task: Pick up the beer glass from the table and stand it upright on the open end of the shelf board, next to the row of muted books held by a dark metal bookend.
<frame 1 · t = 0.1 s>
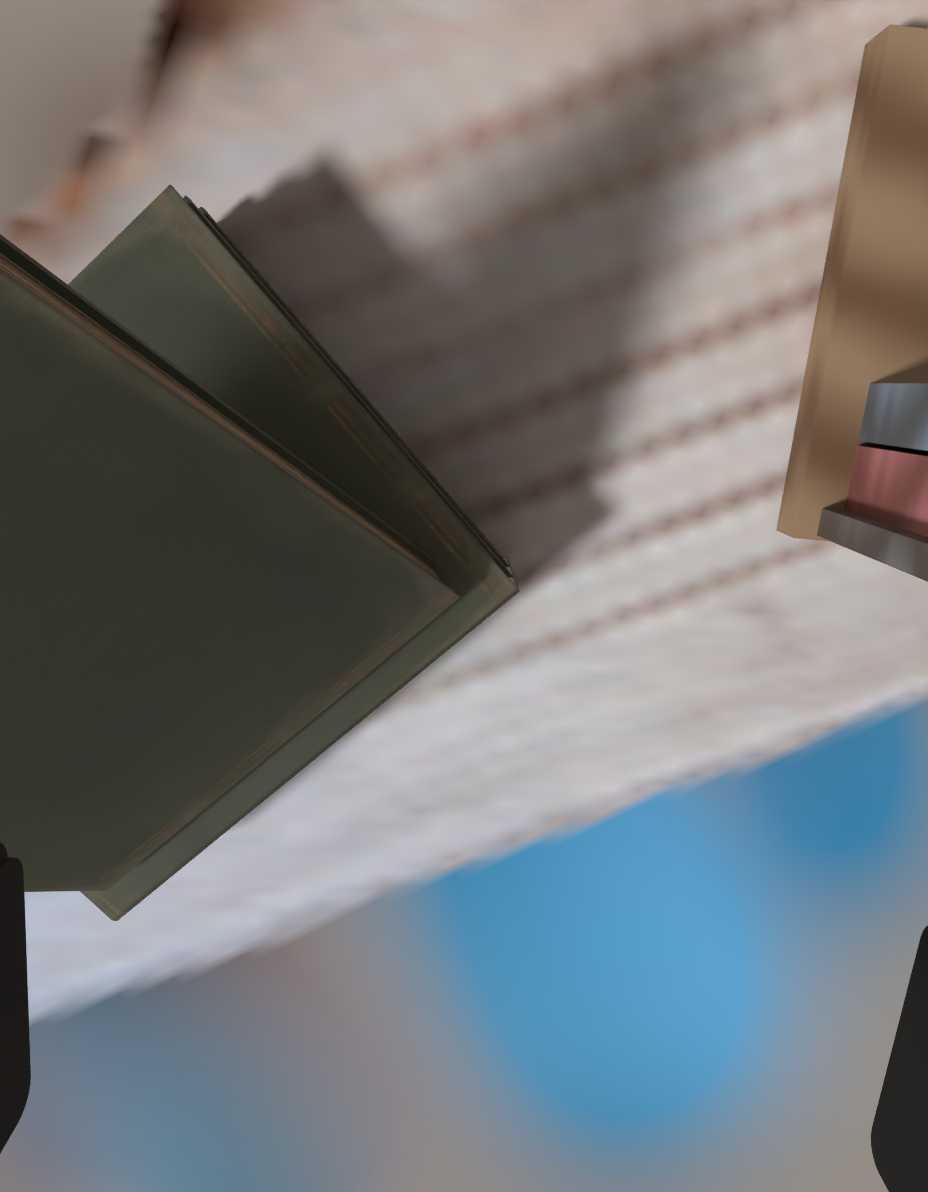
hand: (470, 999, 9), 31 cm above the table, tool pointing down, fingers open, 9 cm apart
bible: (188, 560, 40), on the table
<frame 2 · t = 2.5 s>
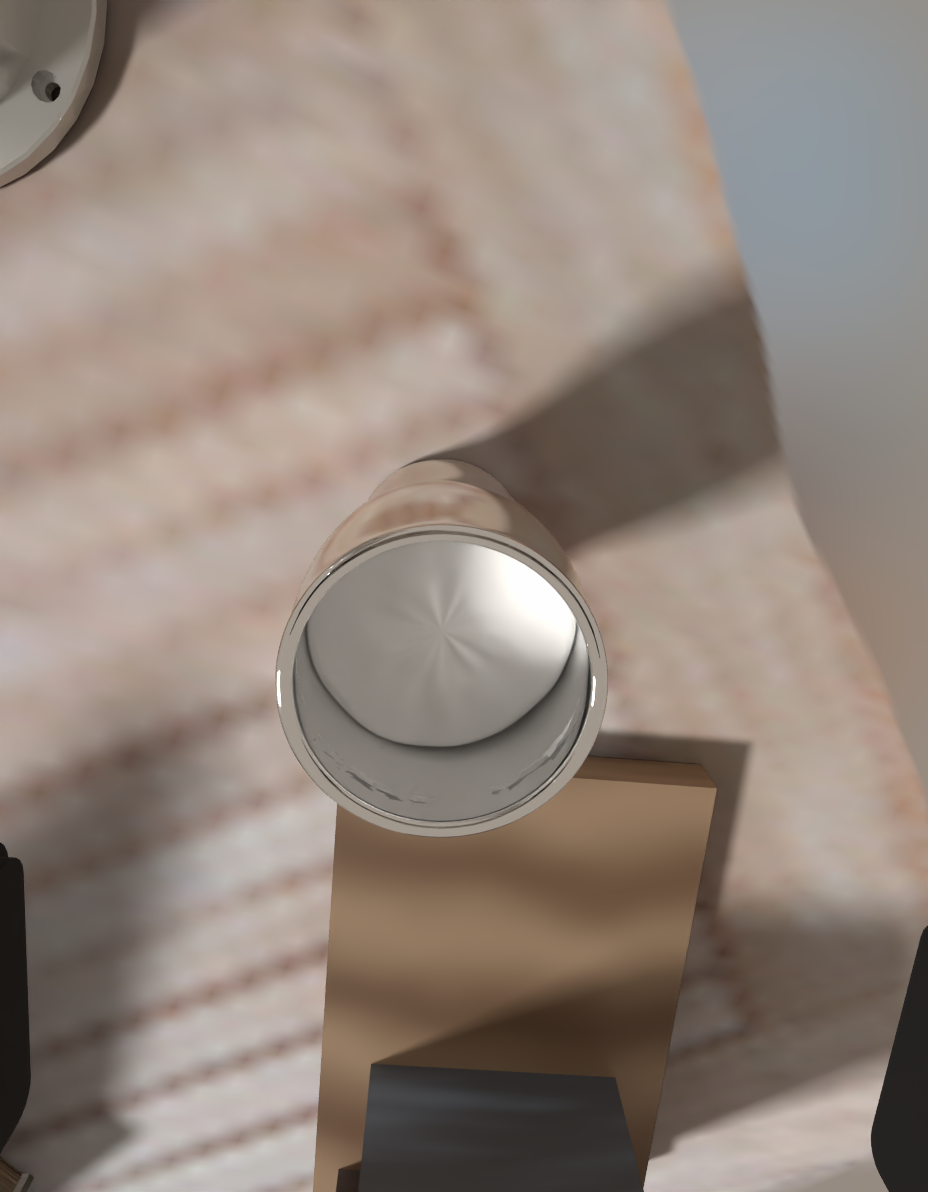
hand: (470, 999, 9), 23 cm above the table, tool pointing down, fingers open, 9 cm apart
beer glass: (440, 540, 31), on the table
shelf board: (498, 970, 36), on the table
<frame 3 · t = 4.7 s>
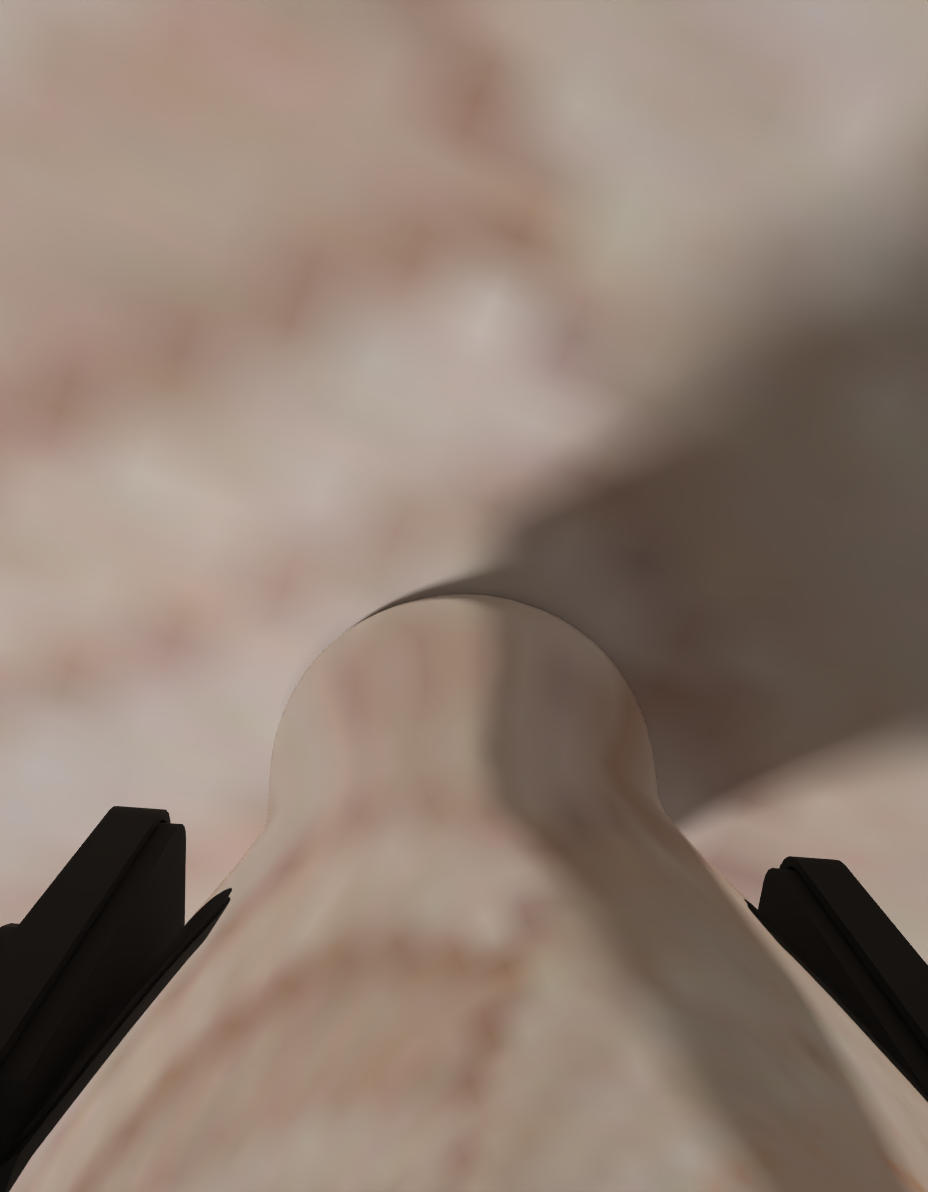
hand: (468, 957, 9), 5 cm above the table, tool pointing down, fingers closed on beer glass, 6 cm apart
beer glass: (461, 766, 14), on the table, touching gripper
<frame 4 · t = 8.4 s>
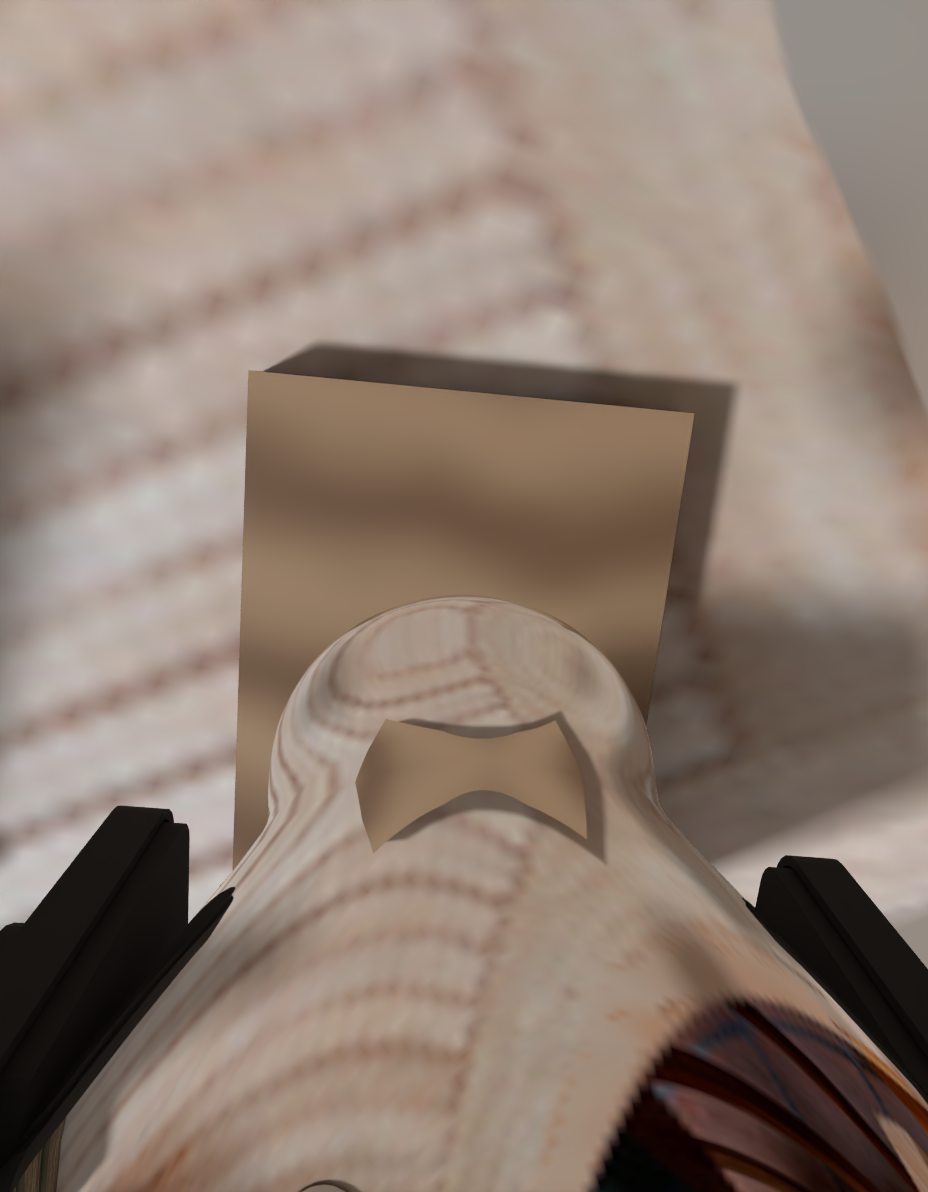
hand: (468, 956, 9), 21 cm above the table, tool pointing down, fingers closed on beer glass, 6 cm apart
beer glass: (461, 767, 14), point 16 cm above the table, touching gripper
shelf board: (445, 673, 31), on the table
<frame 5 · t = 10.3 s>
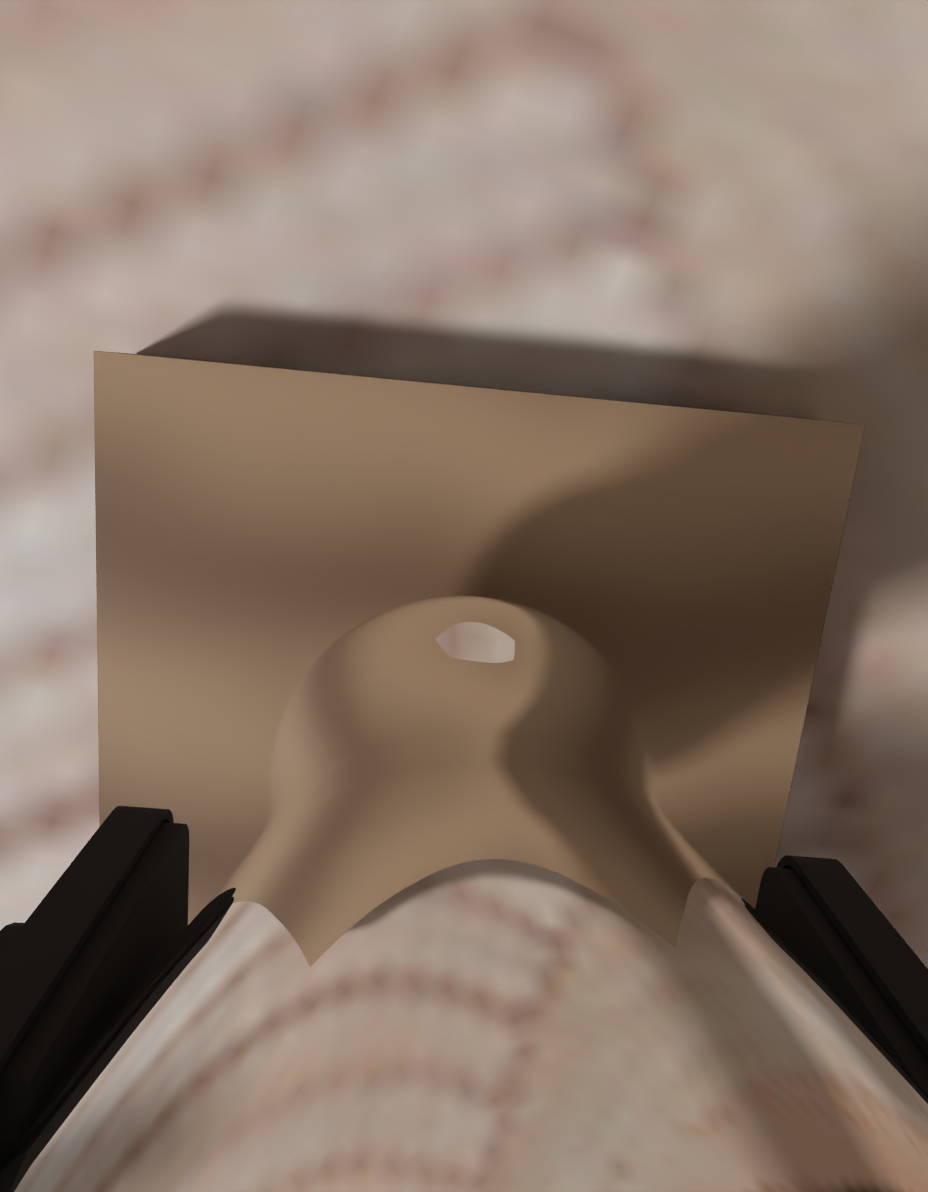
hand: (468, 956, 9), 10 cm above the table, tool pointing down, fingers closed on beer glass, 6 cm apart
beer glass: (461, 767, 14), point 5 cm above the table, touching gripper
shelf board: (439, 829, 20), on the table
when the fingers open (7 cm above the table, at t = 11.8 s): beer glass stays where it is, resting on shelf board.
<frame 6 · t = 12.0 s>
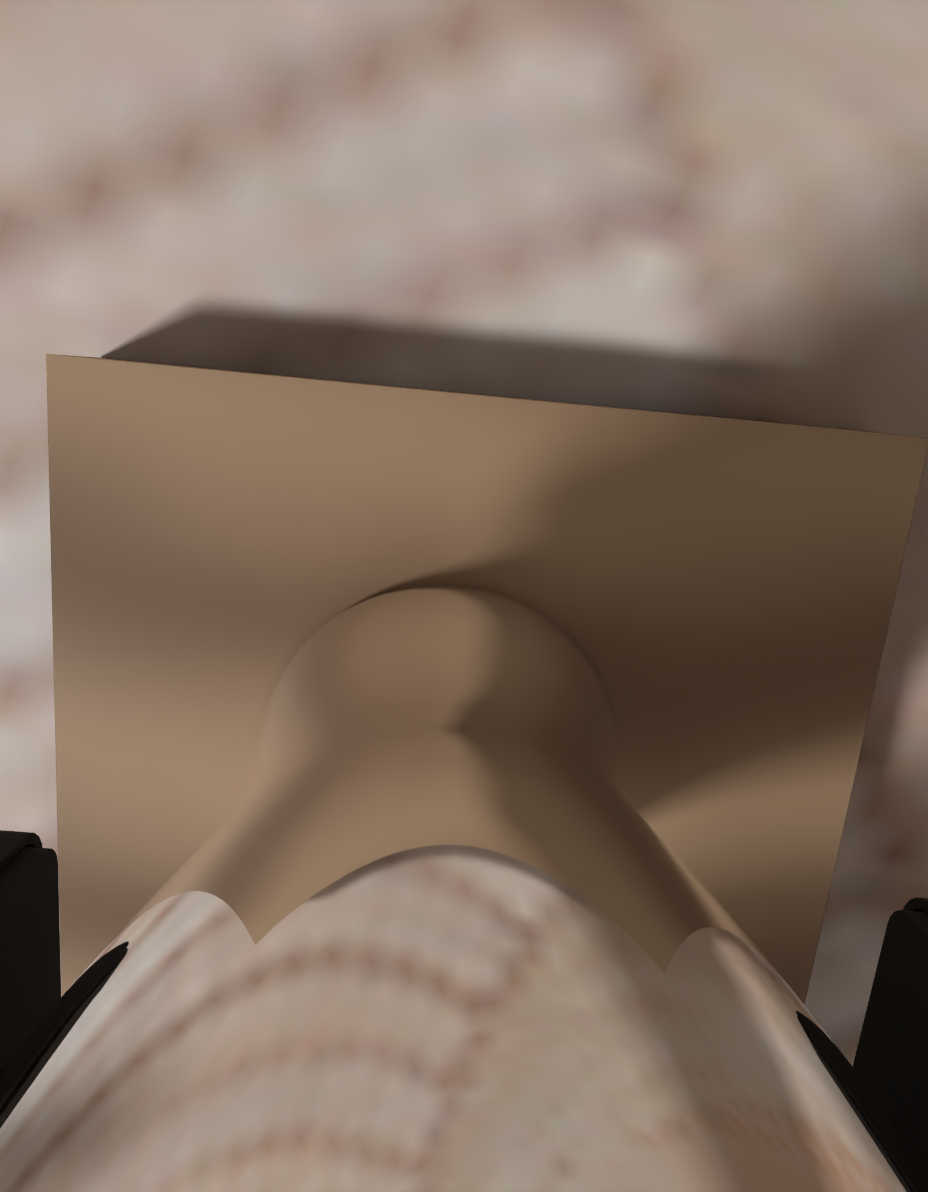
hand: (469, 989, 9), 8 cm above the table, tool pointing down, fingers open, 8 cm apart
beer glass: (440, 747, 15), point 2 cm above the table, touching shelf board
shelf board: (442, 886, 18), on the table
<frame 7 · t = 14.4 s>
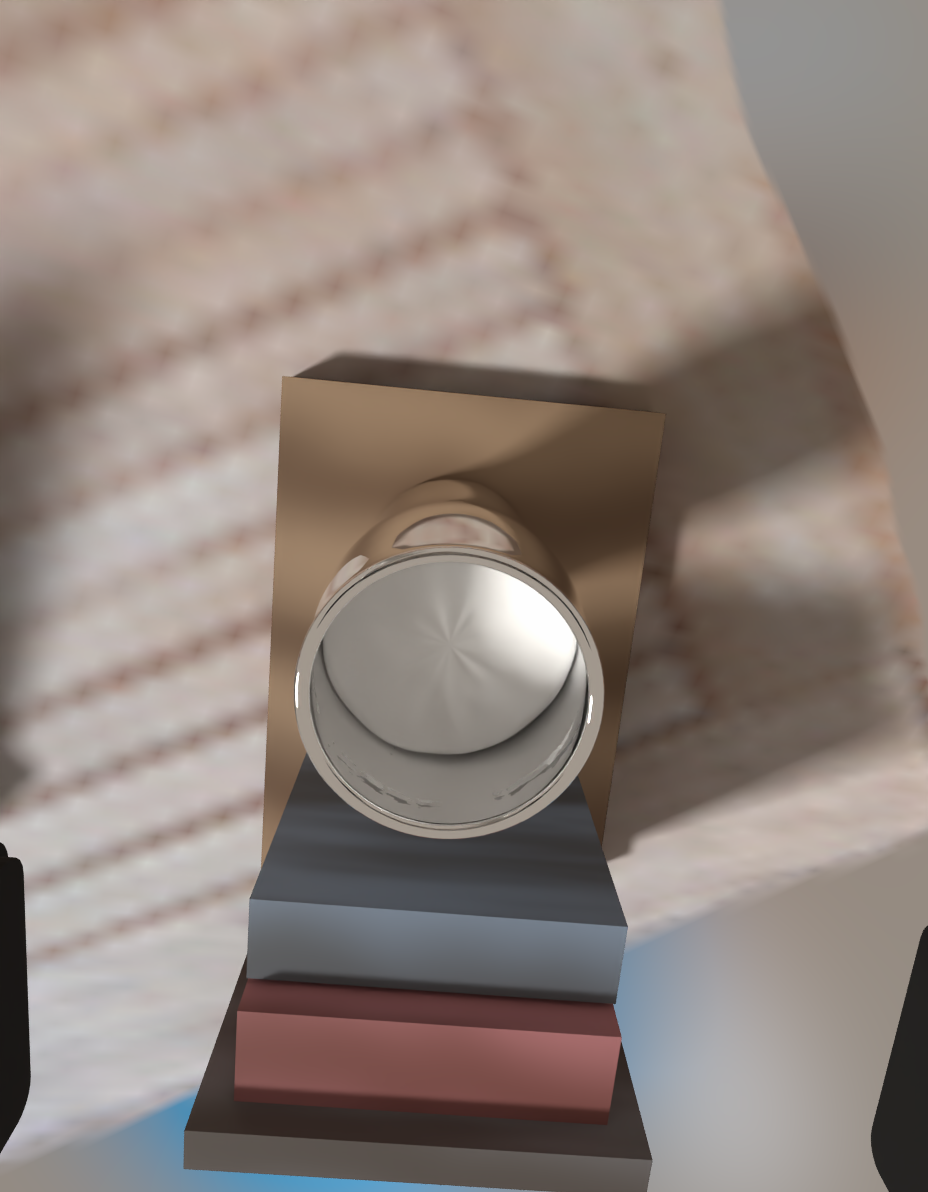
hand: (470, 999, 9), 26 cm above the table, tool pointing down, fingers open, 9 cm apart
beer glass: (450, 557, 33), point 2 cm above the table, touching shelf board
shelf board: (450, 641, 35), on the table
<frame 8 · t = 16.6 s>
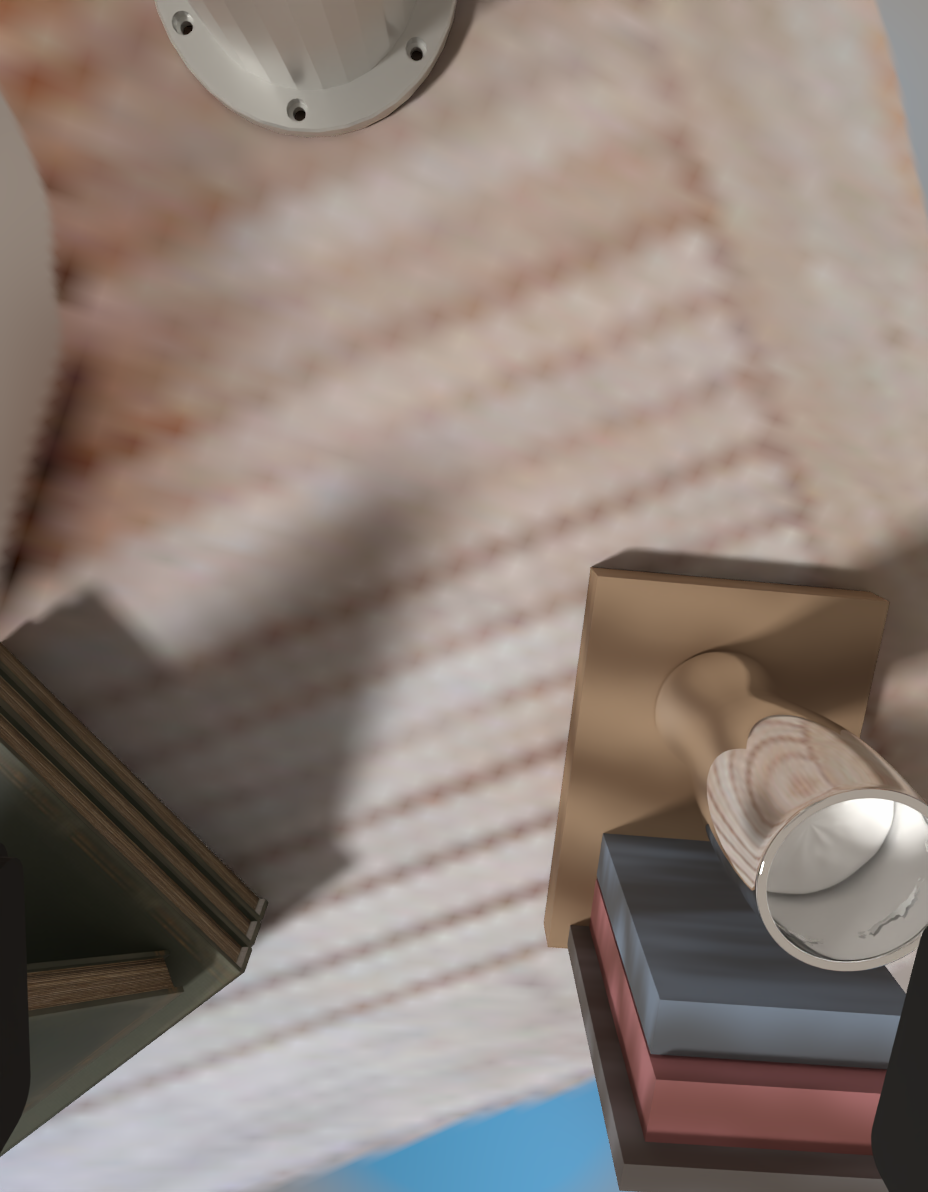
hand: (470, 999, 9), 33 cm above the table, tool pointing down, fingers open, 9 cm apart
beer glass: (714, 707, 42), point 2 cm above the table, touching shelf board
shelf board: (698, 765, 45), on the table
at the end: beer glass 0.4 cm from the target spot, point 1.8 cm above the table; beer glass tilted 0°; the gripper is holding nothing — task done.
